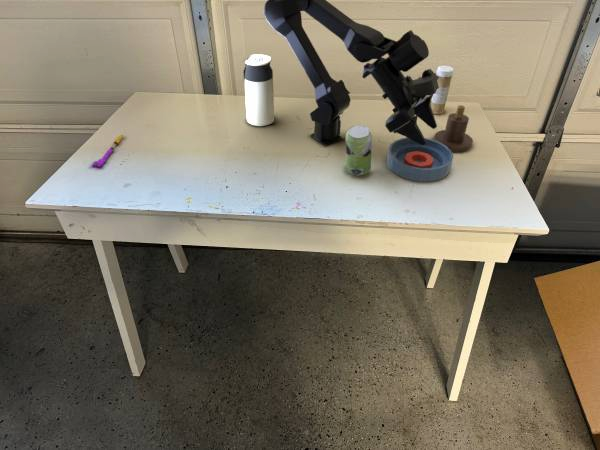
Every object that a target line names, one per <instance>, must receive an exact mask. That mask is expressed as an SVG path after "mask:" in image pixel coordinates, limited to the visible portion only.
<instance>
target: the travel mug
mask: <svg viewBox="0 0 600 450" xmlns="http://www.w3.org/2000/svg"><path fill="white" fill-rule="evenodd" d="M271 62H272V58H271V56H269V55H266V54H259V53H257V54H250V55H247V56H245V57H243V63H244V66H245V67H244V69H243V84H244V86H243V87H244V97H245V110H246V122H247V123H248V124H250V125H252V126H255V127H264V126H268V125H269V126H270V124H273V123H274V121H275V104H274V103H275V102H274V75H273V74H274V72H273V68H272V67H271Z"/></svg>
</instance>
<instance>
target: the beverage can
mask: <svg viewBox="0 0 600 450" xmlns="http://www.w3.org/2000/svg"><path fill="white" fill-rule="evenodd" d="M372 143H373V135H372V132H371V131H370V128H369V127H368V126H366V125H363V124H356V125H353V126H351V127H349V129H348V131H347V132H346V133H345V169H346V171H347V173H349V174H350V175H353V176H364V175H366V174H368V173H369V172H370V171H371V168H372V147H373V144H372Z"/></svg>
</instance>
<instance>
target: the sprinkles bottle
mask: <svg viewBox="0 0 600 450" xmlns="http://www.w3.org/2000/svg"><path fill="white" fill-rule="evenodd" d="M454 70H455V69H454V67H452V66H449V65H439V66H437V69H436V72H435V73H436V75H437V76H438V77H439V79H438V80H437V82H438V86H439V89H437V90H436V93H435V94H433V97H432V100H431V108H432V112H433V115H442V114H444V113H445V108H446V104H447V100H448V96H449V91H450V87H451V82H452V78H453V75H454V72H455V71H454Z"/></svg>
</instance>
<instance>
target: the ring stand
mask: <svg viewBox="0 0 600 450" xmlns="http://www.w3.org/2000/svg"><path fill="white" fill-rule="evenodd" d="M465 108H466V106H464V105H461V104H460V105H457V108H456V111H455V112H453V113H450V114H448V116H447V119H446V125H445V128H444V129H441V130H439V131H436V133H435V134H434V136H433V140H435V141H438V142H440V143H442V144H444V145H445V146H447V147H448V148H449V149H450V150H451V152H452V153H455V154H457V153H466V152H469V150H470V149H471V148H472V145H473V142H474V141H473V138H472V137H471V136H470V135H469V134H468V133H466V132H467V128H468V124H469V121H470V118H469V116H468V115H466V114H464V113H465Z"/></svg>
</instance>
